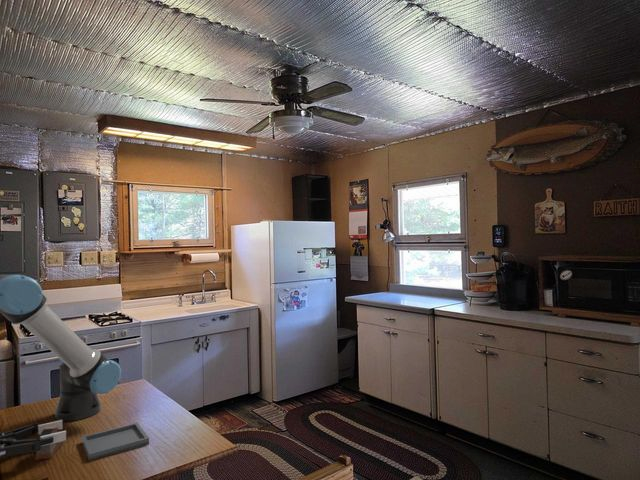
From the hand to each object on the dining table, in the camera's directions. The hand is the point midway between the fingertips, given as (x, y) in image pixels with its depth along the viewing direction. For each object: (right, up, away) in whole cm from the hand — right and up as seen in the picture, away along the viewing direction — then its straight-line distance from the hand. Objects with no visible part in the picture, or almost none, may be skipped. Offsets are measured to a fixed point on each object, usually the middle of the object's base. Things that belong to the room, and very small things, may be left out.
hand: (64, 429), depth 135 cm
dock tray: (+15, -6, +3) cm, 16 cm away
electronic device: (-3, -6, -2) cm, 7 cm away
